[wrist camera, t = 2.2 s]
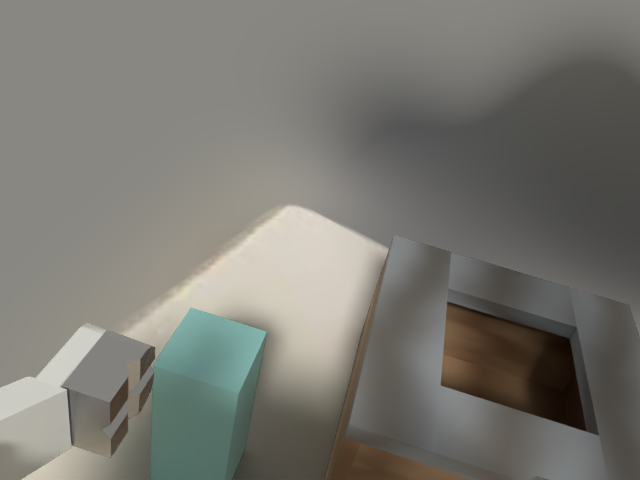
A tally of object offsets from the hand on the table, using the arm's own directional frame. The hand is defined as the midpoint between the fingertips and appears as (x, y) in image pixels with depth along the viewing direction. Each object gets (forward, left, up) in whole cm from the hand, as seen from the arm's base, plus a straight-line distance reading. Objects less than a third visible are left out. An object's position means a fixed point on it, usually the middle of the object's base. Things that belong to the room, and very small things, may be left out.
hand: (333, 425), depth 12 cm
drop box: (-9, -17, -20) cm, 28 cm away
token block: (+6, -10, -20) cm, 23 cm away
